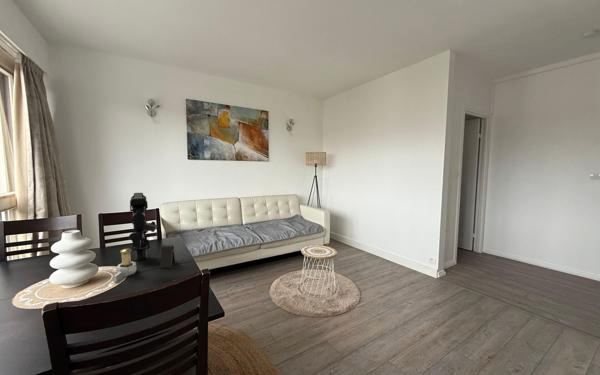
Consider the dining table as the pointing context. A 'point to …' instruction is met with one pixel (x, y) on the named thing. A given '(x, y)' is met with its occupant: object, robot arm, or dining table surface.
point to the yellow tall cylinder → (126, 257)
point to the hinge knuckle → (124, 271)
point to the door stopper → (167, 257)
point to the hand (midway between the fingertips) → (140, 246)
